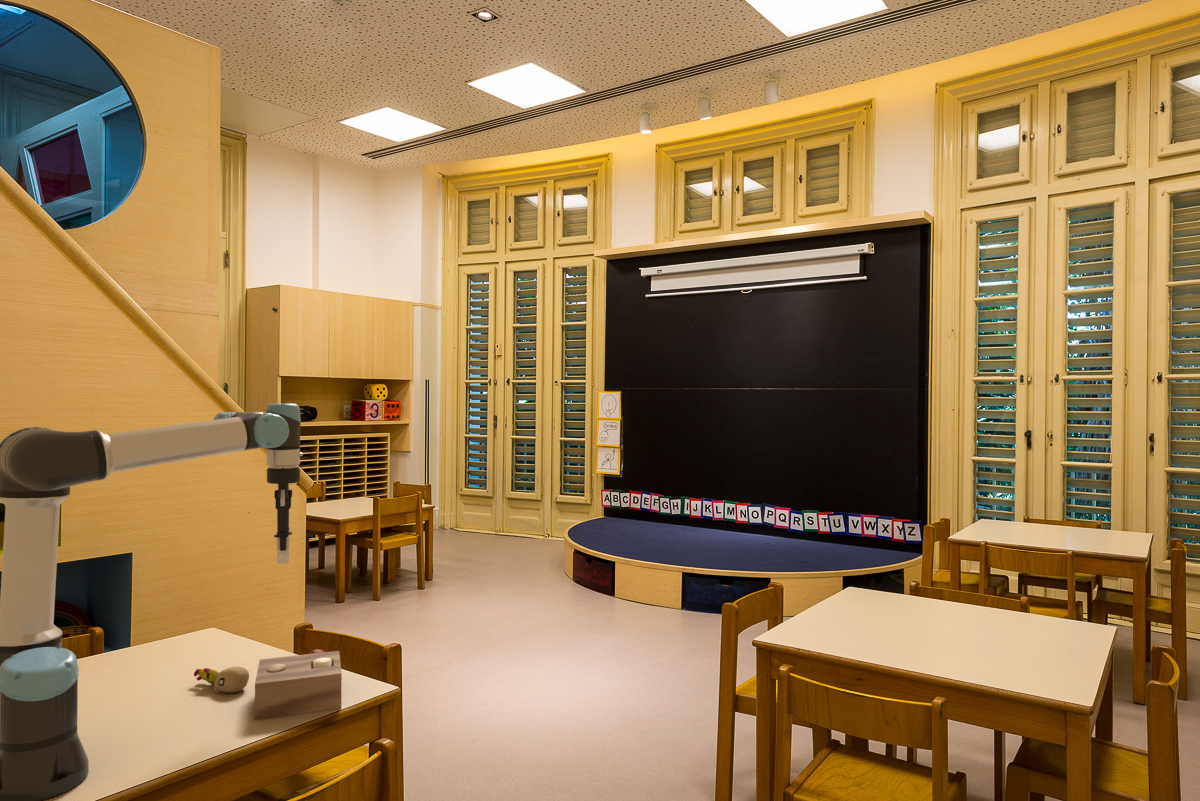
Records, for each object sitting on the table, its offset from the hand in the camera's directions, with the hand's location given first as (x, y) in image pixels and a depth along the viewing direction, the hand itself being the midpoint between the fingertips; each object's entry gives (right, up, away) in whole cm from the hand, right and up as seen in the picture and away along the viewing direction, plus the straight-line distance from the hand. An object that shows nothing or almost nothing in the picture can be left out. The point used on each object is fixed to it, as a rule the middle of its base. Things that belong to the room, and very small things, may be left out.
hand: (283, 562), depth 183 cm
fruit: (+5, -31, +12) cm, 33 cm away
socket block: (+7, -31, -8) cm, 32 cm away
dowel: (+12, -30, -6) cm, 33 cm away
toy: (-15, -31, -1) cm, 34 cm away
